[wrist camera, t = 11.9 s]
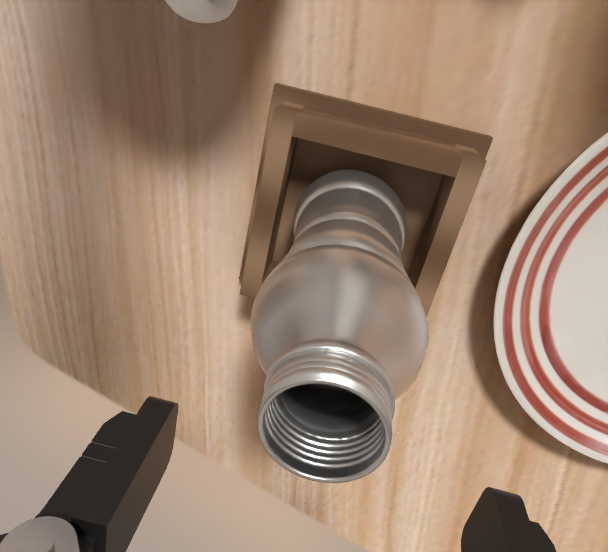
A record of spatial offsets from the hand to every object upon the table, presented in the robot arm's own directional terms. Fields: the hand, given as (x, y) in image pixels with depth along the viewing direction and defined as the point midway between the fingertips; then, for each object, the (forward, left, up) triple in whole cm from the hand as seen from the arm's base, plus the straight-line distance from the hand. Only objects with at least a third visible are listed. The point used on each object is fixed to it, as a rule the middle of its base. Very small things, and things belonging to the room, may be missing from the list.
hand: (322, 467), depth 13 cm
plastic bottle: (0, 0, -21) cm, 21 cm away
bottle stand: (0, 0, -22) cm, 22 cm away
